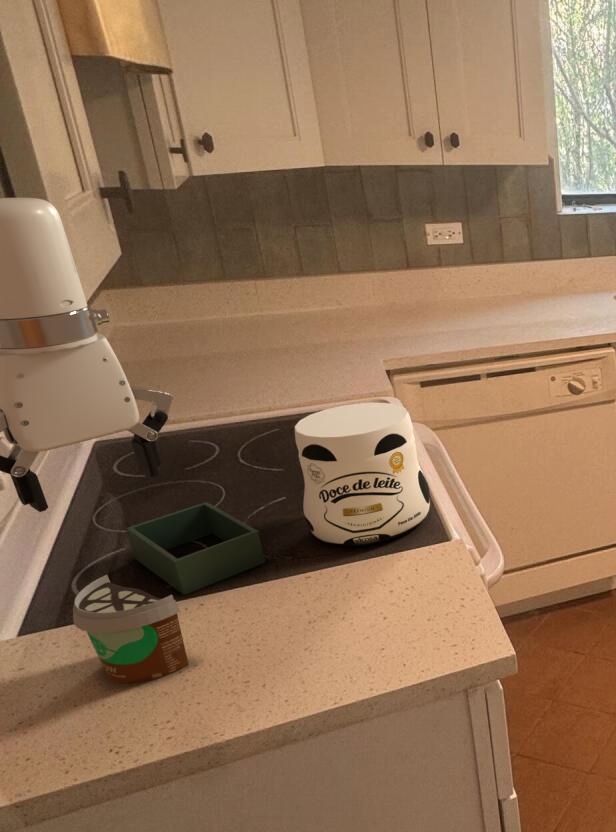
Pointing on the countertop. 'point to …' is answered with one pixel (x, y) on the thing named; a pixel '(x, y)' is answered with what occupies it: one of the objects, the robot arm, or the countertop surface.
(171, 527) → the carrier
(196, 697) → the countertop surface
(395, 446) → the milk container
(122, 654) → the food container
